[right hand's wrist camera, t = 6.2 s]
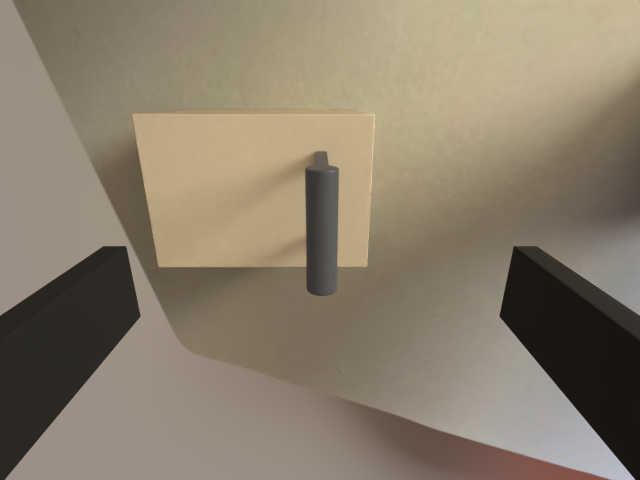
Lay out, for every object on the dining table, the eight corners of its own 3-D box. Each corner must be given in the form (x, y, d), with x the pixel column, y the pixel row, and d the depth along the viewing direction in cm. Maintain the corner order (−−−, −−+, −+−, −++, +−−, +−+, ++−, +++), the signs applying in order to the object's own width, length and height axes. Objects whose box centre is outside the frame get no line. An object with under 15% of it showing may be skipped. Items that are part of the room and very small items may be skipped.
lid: (373, 113, 23) (401, 120, 15) (365, 262, 26) (385, 331, 18) (137, 113, 23) (40, 120, 15) (162, 262, 26) (95, 332, 18)
